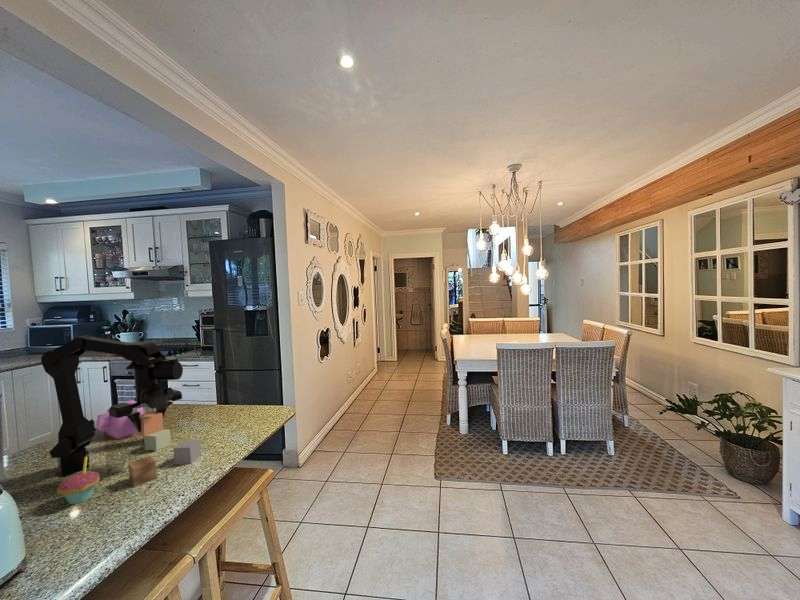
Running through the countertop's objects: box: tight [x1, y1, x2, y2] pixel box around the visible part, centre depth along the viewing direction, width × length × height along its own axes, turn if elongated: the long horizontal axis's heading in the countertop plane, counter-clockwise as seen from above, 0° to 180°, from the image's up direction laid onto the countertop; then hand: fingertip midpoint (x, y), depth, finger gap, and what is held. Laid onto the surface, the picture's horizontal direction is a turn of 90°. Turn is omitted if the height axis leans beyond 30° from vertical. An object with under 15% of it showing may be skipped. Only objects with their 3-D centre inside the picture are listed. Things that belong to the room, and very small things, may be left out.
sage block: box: [143, 428, 172, 452], centre depth 124 cm, size 6×6×6 cm
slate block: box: [172, 439, 202, 465], centre depth 113 cm, size 6×6×6 cm
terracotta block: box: [135, 411, 165, 437], centre depth 111 cm, size 6×6×6 cm
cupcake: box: [56, 454, 101, 505], centre depth 93 cm, size 9×8×12 cm
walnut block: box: [128, 455, 158, 488], centre depth 102 cm, size 6×6×6 cm
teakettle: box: [96, 399, 144, 440], centre depth 139 cm, size 17×17×12 cm
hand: (149, 428), depth 111 cm, fingers closed on terracotta block, 5 cm apart
